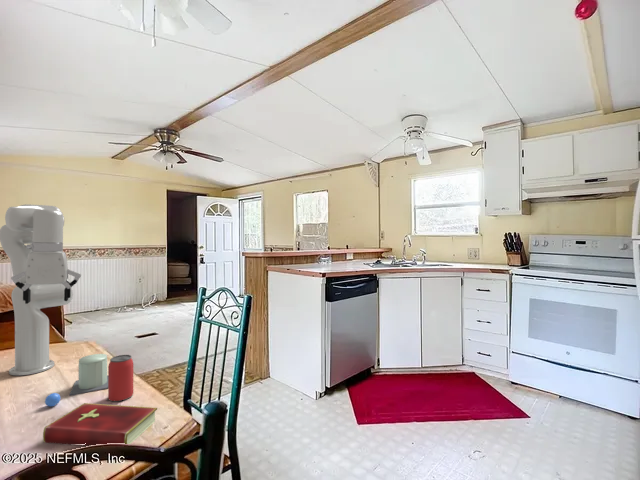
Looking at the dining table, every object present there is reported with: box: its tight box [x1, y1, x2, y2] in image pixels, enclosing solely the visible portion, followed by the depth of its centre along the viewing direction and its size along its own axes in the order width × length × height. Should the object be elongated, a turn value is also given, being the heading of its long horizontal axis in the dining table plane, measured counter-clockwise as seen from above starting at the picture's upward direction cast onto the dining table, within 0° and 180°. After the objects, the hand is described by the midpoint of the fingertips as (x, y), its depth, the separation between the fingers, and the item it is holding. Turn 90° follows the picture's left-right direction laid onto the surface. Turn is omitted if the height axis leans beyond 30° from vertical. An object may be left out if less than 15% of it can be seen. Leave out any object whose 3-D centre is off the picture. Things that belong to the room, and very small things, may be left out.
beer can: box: [107, 354, 134, 403], centre depth 101 cm, size 7×7×12 cm
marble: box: [44, 392, 61, 407], centre depth 96 cm, size 4×4×4 cm
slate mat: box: [69, 375, 108, 396], centre depth 109 cm, size 11×11×1 cm
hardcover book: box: [42, 402, 158, 447], centre depth 83 cm, size 12×21×4 cm, turn 84°
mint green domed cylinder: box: [78, 353, 108, 389], centre depth 109 cm, size 8×8×8 cm
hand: (47, 301), depth 106 cm, fingers open, 9 cm apart
